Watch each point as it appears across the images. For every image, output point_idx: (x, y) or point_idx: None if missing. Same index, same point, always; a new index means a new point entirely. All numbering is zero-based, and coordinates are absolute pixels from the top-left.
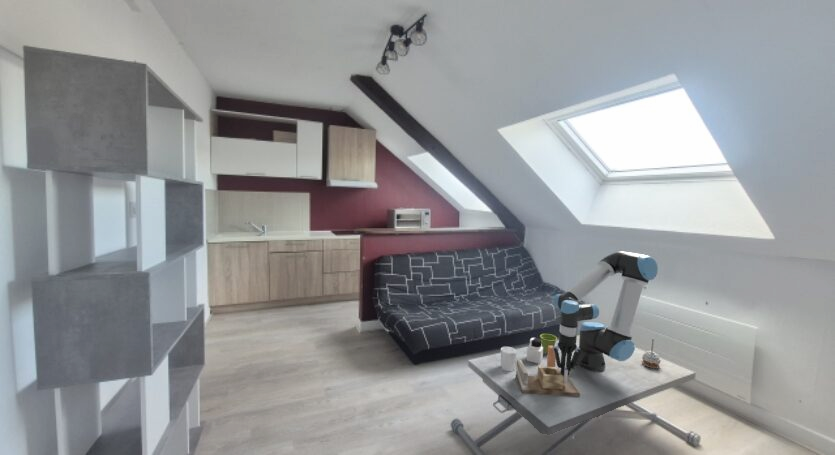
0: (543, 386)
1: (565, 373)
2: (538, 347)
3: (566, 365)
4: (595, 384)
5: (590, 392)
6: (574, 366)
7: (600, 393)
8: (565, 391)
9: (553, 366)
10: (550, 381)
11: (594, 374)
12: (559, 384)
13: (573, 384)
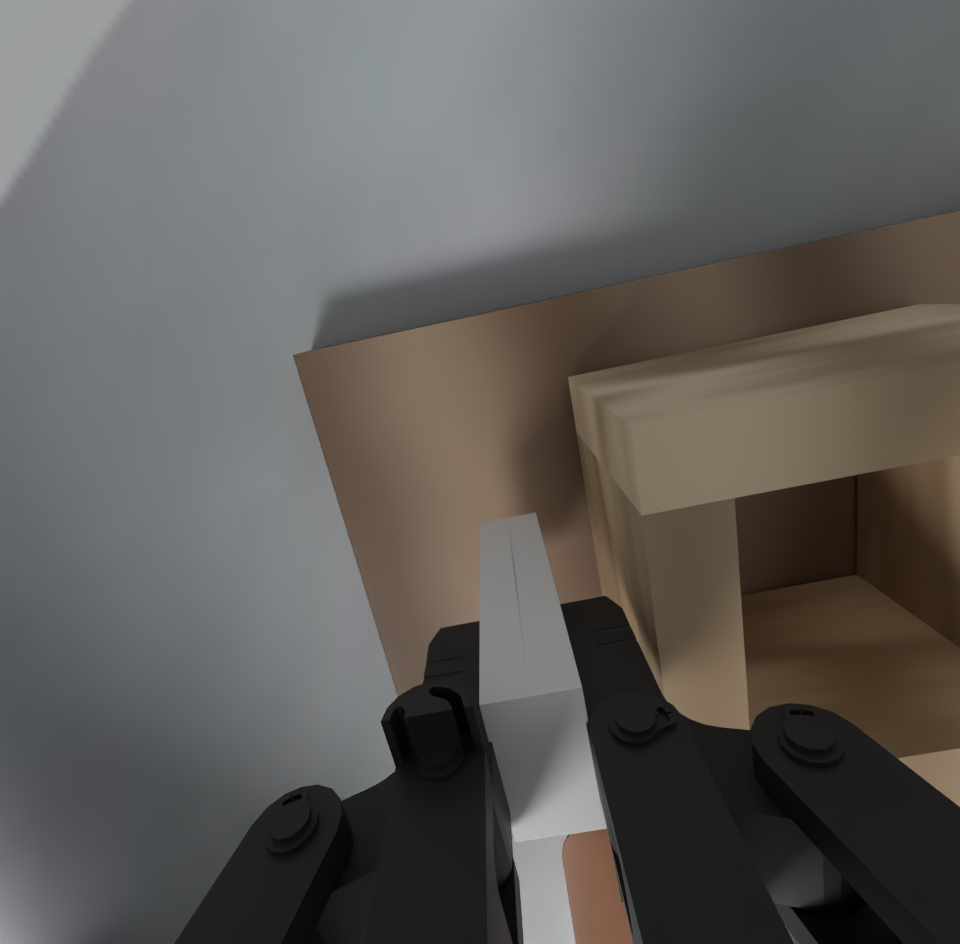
0: (938, 304)
1: (540, 621)
2: None
3: (513, 899)
4: (85, 722)
5: (151, 510)
6: (228, 885)
7: (18, 526)
8: (528, 329)
9: (614, 924)
10: (890, 338)
11: (97, 919)
12: (655, 376)
13: (367, 589)
